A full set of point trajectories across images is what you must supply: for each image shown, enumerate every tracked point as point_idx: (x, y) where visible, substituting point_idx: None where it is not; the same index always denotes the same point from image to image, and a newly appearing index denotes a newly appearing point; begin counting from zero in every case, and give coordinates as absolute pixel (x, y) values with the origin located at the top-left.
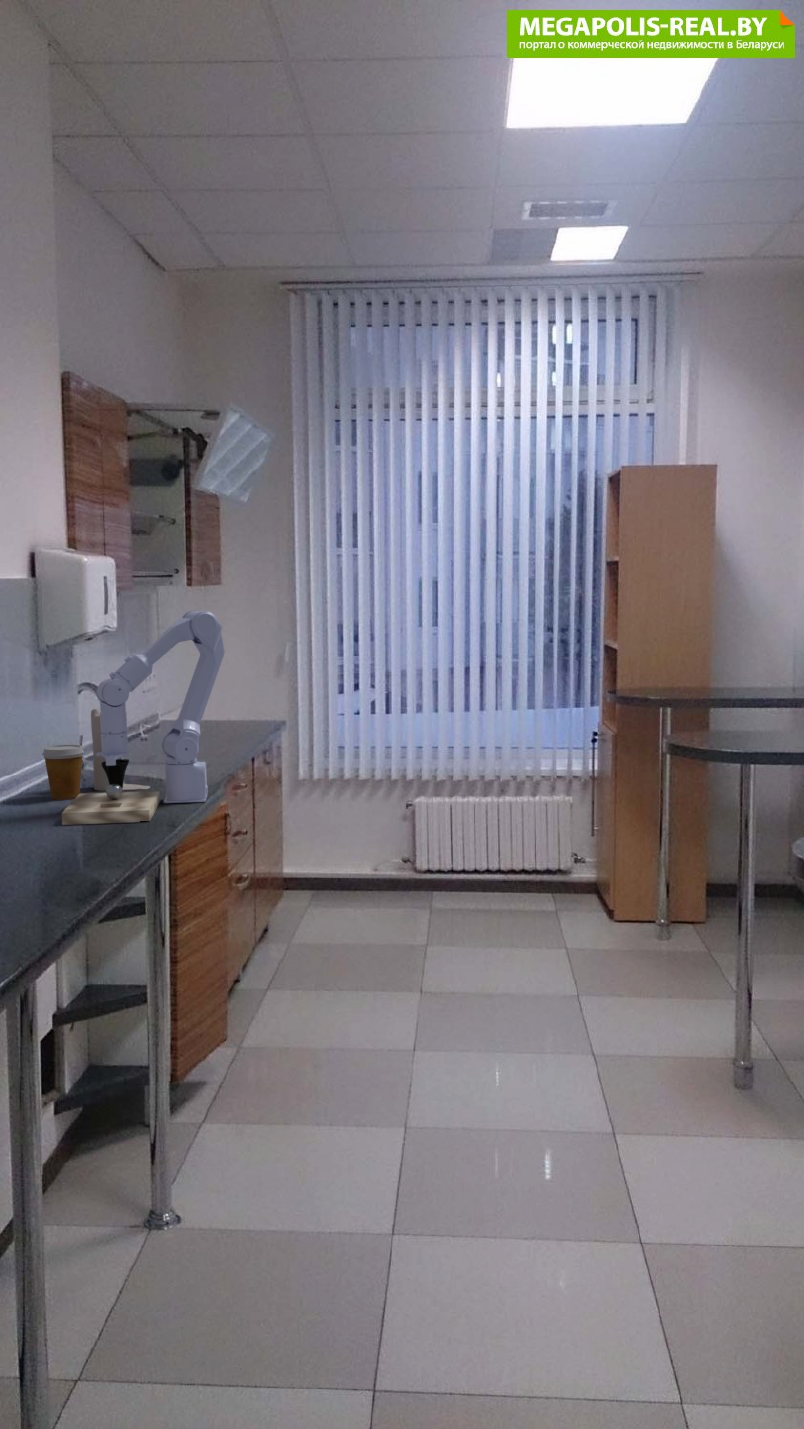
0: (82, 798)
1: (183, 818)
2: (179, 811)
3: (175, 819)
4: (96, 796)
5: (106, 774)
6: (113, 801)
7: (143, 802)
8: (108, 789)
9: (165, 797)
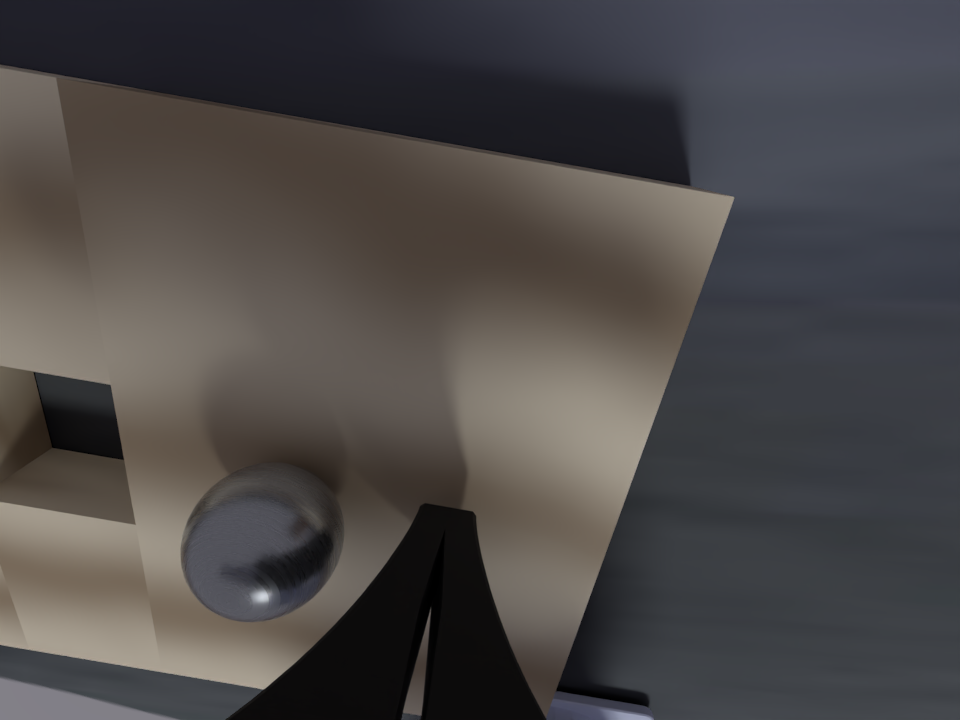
0: (422, 229)
1: (69, 687)
2: (239, 696)
3: (45, 661)
4: (487, 364)
5: (320, 642)
6: (210, 477)
7: (150, 629)
8: (197, 517)
9: (579, 705)
